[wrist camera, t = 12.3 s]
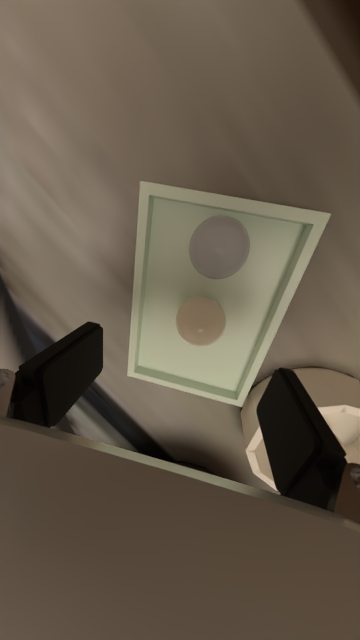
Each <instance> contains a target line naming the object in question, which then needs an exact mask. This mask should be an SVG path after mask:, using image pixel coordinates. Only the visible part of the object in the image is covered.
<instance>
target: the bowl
mask: <svg viewBox="0 0 360 640" xmlns="http://www.w3.org/2000/svg"><path fill="white" fill-rule="evenodd" d="M291 370H293V371H294V372H295V373H296V375H297V376H298V378H299V380H300V381H301V383H302V384H303V386H304V387H305V389H306V391H307V392H308V394H309V395H310V397H311V399H312V400H313V402H314V403H315V405H316V406H317V408H318V410H319V411H320V413H321V414H322V416H323V417H324V419H325V421H326V422H327V424H328V425H329V427H330V428H331V430H332V432H333V433H334V434H335V435H336V436H337V437H338V438H339V439H340V441H341V442H342V444H343V446H344V448H345V451H346V454H347V455H346V460H347V462H348V463H357V464H360V382H359V381H358V380H357V379H356V378H352V377H351V376H348V375H346V374H344V373H341V372H338V371H334V370H330V369H324V368H296V369H291ZM271 377H272V375H271V376H269V377H267V378H266V379H264V380H262V381H261V382H259V383H258V384H257V385H255V386H254V387H253V388H252V389H251V391H250V392H249V393H248V395H247V397H246V399H245V401H244V403H243V407H242V411H241V420H242V428H243V435H244V442H245V450H246V453H247V456H248V459H249V462H250V465H251V468H252V471H253V473H254V474H255V475H257V476H258V477H259V478H260V479H262V480H263V481H264V482H266V483H267V484H268V485H270V486H271V487H272V488H274V489H275V490H276V491H278V490H277V489H276V486H275V483H274V479H273V475H272V471H271V467H270V463H269V459H268V456H267V452H266V448H265V444H264V440H263V436H262V433H261V429H260V425H259V421H258V417H257V413H256V409H257V405H258V403H259V401H260V399H261V397H262V395H263V393H264V391H265V389H266V387H267V385H268V383H269V381H270V379H271Z"/></svg>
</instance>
